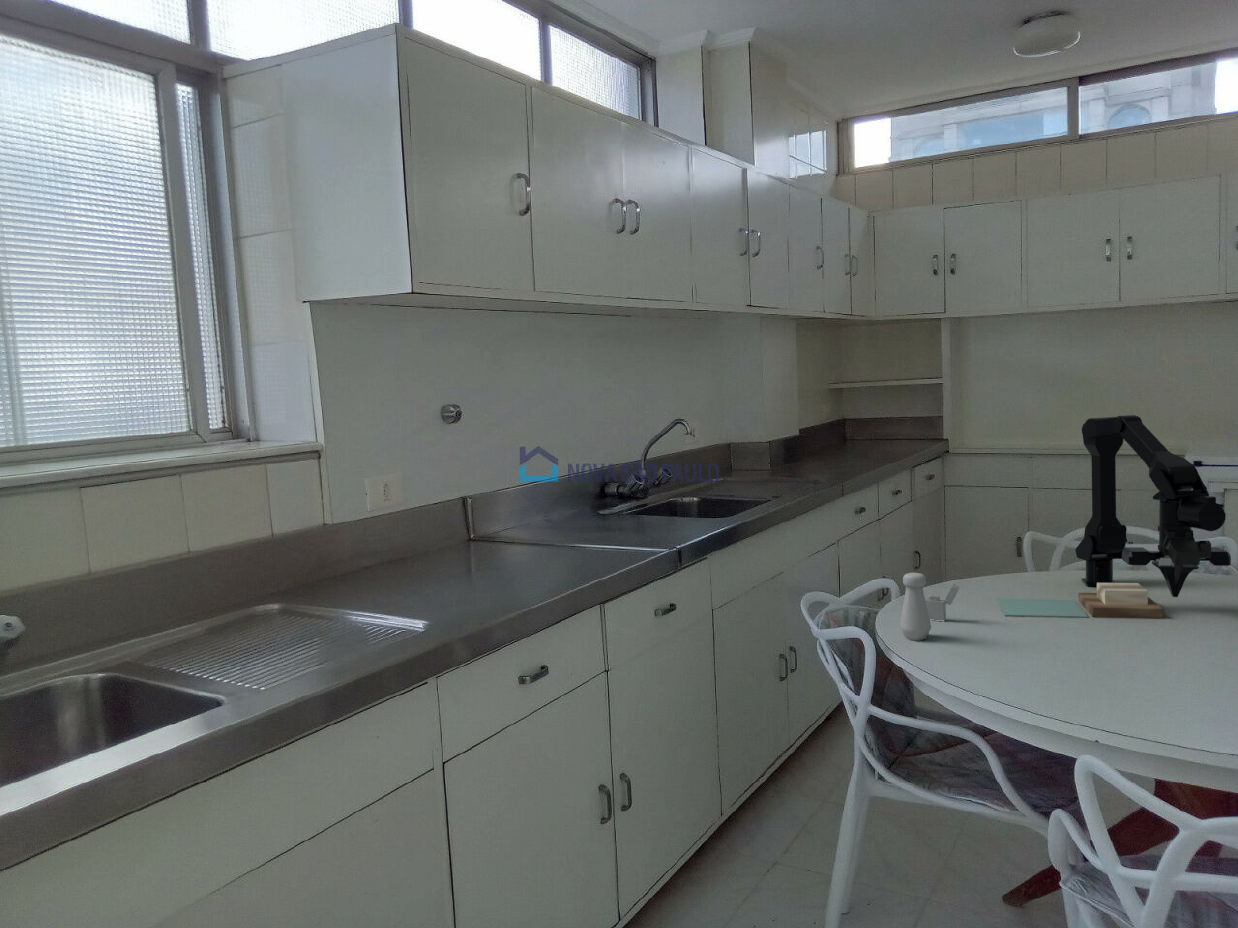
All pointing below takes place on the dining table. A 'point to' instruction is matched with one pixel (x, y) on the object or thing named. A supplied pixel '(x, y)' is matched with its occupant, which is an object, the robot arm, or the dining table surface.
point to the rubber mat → (1041, 608)
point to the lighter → (940, 604)
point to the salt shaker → (915, 608)
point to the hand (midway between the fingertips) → (1174, 596)
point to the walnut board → (1119, 608)
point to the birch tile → (1122, 593)
